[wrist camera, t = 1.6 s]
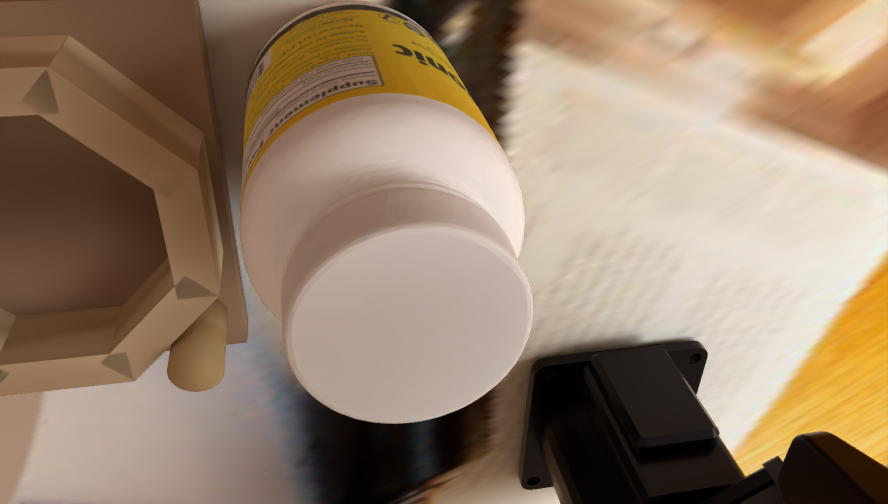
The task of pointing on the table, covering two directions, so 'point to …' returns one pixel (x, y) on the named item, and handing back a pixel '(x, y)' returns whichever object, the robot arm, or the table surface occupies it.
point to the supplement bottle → (380, 218)
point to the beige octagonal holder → (112, 198)
